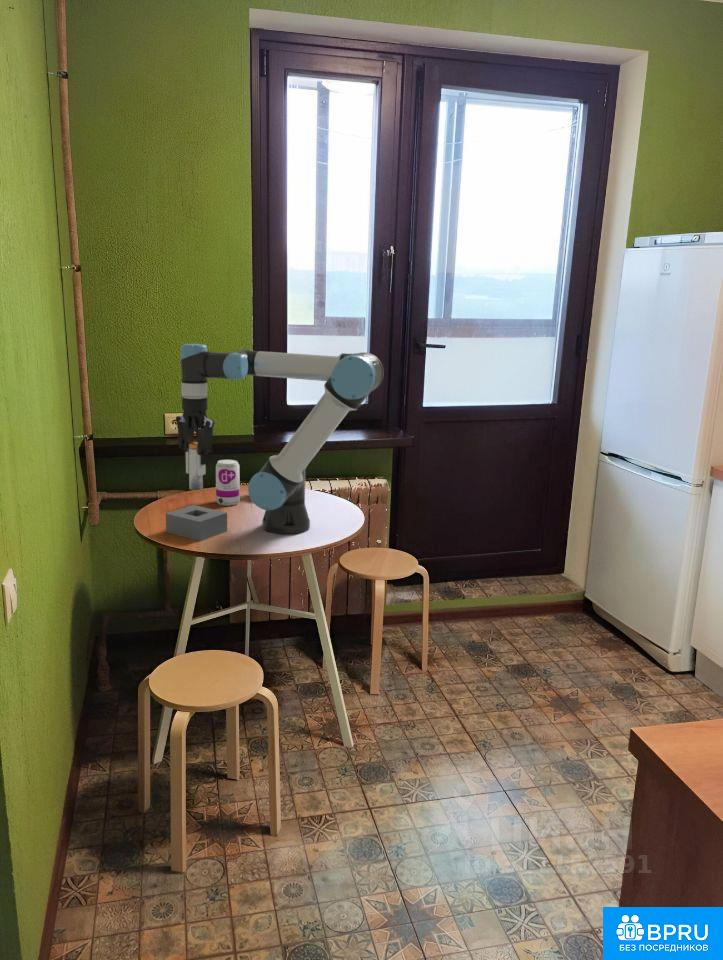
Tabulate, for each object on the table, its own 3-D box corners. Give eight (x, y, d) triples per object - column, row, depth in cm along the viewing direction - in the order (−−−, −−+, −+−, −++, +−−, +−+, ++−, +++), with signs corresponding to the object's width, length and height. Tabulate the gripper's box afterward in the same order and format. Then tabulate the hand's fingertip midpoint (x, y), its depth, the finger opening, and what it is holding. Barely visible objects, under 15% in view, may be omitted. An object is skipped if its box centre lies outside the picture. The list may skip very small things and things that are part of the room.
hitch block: (227, 531, 230) (227, 512, 229) (200, 541, 220) (200, 521, 218) (193, 522, 237) (193, 505, 235) (166, 532, 227) (165, 513, 225)
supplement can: (237, 506, 257) (237, 464, 253) (213, 505, 257) (213, 463, 253) (241, 500, 265) (241, 459, 261) (218, 499, 265) (218, 458, 261)
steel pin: (205, 488, 226) (205, 443, 223) (196, 490, 223) (195, 445, 219) (195, 486, 228) (195, 441, 224) (186, 488, 225) (185, 443, 221)
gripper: (224, 398, 217) (225, 475, 223) (182, 392, 226) (184, 467, 231) (207, 401, 211) (208, 480, 217) (164, 395, 220) (166, 471, 225)
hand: (195, 473), depth 224 cm, fingers closed on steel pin, 4 cm apart
